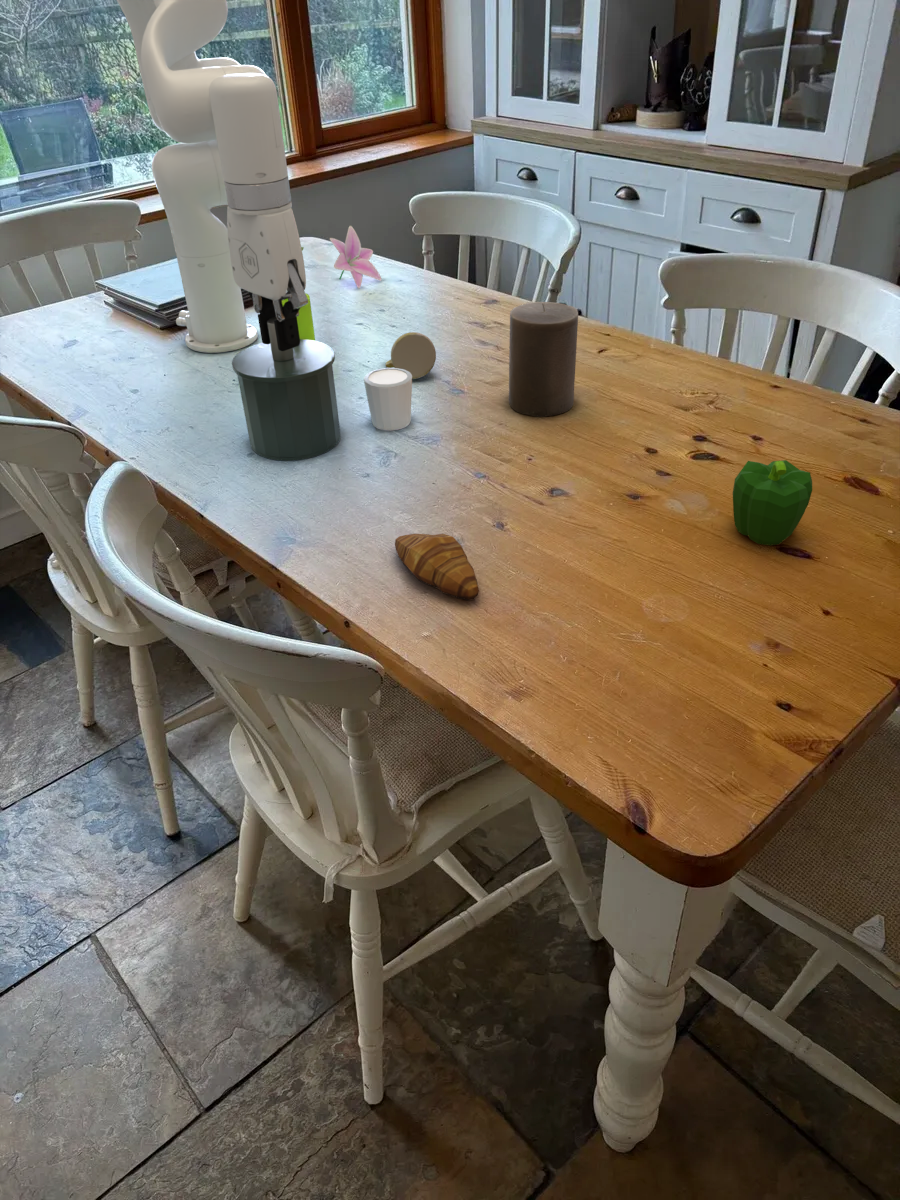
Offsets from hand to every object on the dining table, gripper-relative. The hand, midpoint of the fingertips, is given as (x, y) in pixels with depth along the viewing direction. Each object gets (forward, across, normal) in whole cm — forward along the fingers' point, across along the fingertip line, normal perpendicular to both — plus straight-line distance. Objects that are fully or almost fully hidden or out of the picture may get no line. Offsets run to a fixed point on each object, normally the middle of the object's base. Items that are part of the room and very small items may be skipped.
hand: (281, 343), depth 115 cm
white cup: (+14, +6, +13) cm, 20 cm away
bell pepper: (+14, +60, +22) cm, 66 cm away
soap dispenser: (+14, -17, +14) cm, 26 cm away
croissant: (+14, +38, -10) cm, 42 cm away
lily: (+14, -48, +52) cm, 72 cm away
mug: (+14, -6, +28) cm, 32 cm away
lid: (+2, 0, 0) cm, 2 cm away
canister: (+14, 0, 0) cm, 14 cm away
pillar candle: (+14, +18, +32) cm, 39 cm away
